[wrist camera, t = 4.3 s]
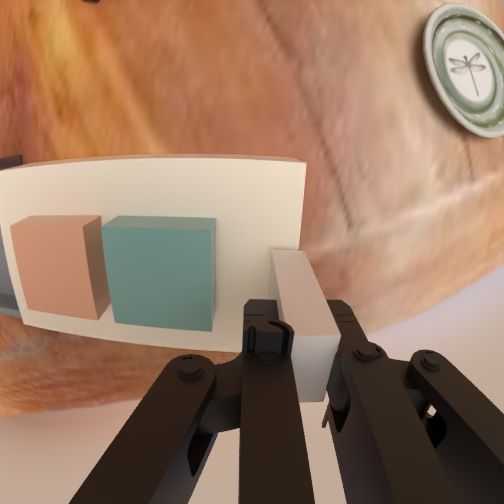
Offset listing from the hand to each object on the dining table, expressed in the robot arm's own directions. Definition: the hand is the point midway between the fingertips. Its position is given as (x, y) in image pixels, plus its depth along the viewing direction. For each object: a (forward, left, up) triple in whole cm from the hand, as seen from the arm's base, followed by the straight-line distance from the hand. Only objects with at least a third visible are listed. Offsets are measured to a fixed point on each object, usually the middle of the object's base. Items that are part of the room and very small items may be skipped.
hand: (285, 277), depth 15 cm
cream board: (-8, 0, -5) cm, 10 cm away
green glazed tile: (-6, 0, -1) cm, 6 cm away
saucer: (+13, +13, -6) cm, 19 cm away
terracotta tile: (-12, 0, -1) cm, 12 cm away
